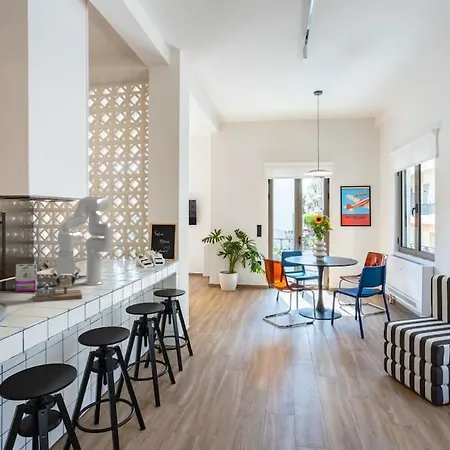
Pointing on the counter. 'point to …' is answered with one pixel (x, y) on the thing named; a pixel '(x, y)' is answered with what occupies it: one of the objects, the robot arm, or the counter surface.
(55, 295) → the gear board
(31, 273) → the candy bar box
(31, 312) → the counter surface
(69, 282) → the wooden gear
